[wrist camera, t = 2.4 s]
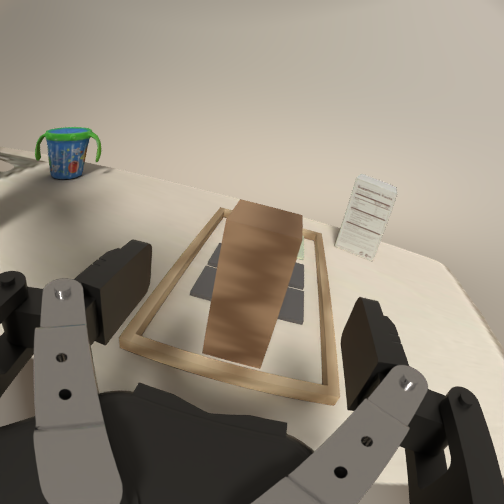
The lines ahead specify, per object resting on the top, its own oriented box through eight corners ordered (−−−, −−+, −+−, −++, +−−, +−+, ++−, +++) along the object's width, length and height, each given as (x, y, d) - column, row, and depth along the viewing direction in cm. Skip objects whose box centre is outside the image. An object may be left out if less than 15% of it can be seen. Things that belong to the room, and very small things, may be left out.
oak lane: (119, 347, 23) (119, 337, 23) (219, 213, 55) (220, 207, 54) (334, 405, 23) (339, 396, 22) (319, 239, 54) (321, 233, 54)
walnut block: (202, 353, 25) (226, 219, 20) (216, 318, 30) (240, 199, 25) (260, 368, 25) (302, 239, 20) (266, 332, 30) (302, 215, 24)
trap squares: (189, 295, 32) (190, 291, 32) (219, 245, 44) (219, 242, 44) (302, 324, 32) (303, 321, 32) (303, 267, 43) (303, 264, 43)
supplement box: (340, 235, 59) (360, 172, 53) (376, 249, 57) (398, 187, 51) (332, 246, 53) (355, 176, 47) (372, 262, 50) (398, 192, 45)
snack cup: (26, 180, 52) (27, 132, 47) (47, 167, 61) (50, 126, 57) (89, 185, 55) (92, 135, 51) (104, 172, 64) (109, 128, 60)
